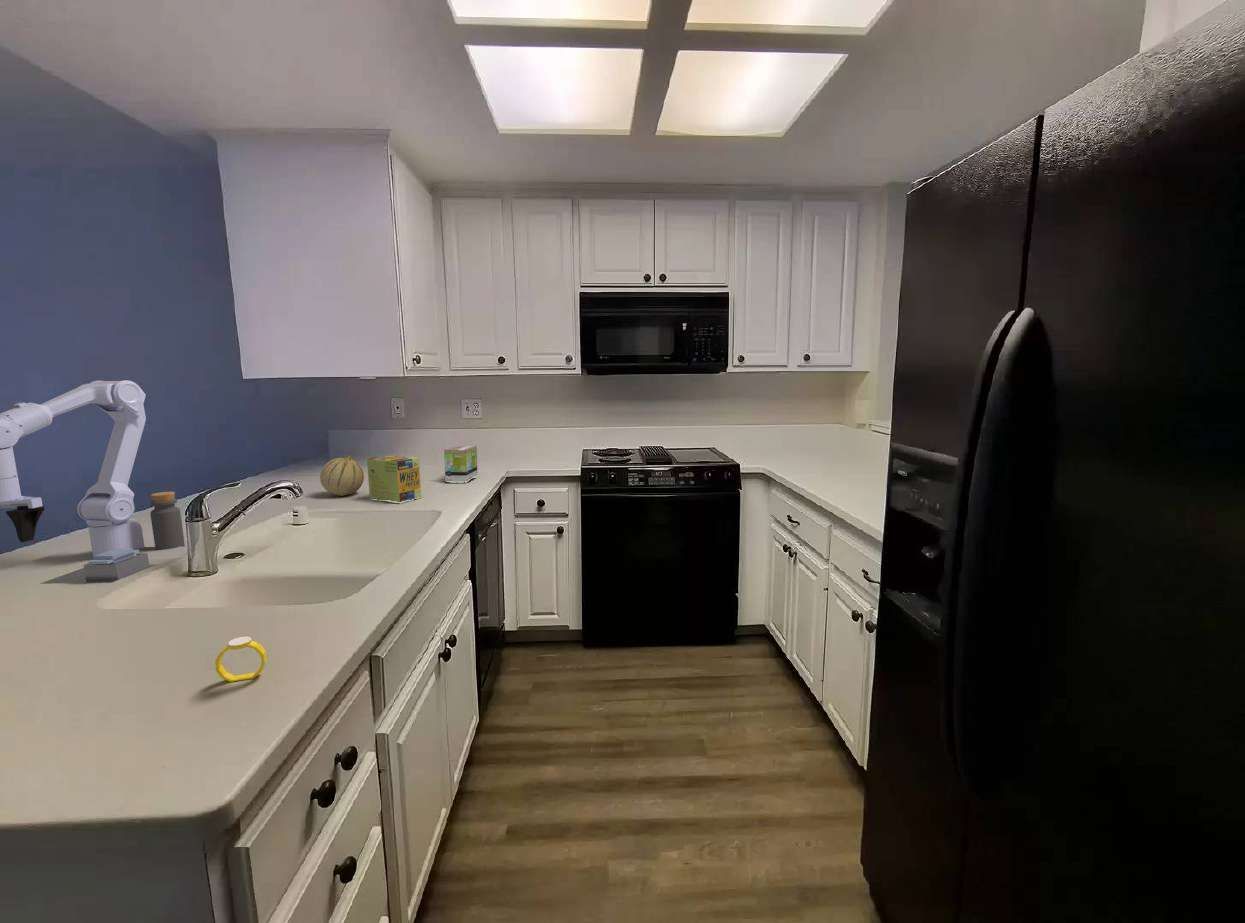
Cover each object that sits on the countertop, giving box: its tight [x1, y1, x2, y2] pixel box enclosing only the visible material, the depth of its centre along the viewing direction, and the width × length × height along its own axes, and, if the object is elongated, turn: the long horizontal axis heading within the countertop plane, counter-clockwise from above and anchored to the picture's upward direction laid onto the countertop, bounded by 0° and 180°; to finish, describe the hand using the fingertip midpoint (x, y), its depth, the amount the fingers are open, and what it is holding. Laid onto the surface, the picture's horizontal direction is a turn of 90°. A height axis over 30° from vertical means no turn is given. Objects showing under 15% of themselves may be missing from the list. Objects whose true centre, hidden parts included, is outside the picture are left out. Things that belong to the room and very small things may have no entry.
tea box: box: [443, 445, 479, 482], centre depth 231 cm, size 15×10×15 cm
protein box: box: [366, 455, 422, 502], centre depth 195 cm, size 10×15×16 cm
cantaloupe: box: [319, 455, 365, 496], centre depth 202 cm, size 15×15×15 cm
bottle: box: [150, 491, 186, 551], centre depth 137 cm, size 6×6×15 cm
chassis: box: [39, 552, 155, 585], centre depth 118 cm, size 11×15×4 cm
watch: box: [215, 636, 268, 683], centre depth 77 cm, size 6×3×6 cm, turn 110°
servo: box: [88, 549, 140, 564], centre depth 117 cm, size 8×4×5 cm, turn 1°
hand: (8, 541), depth 112 cm, fingers open, 7 cm apart
